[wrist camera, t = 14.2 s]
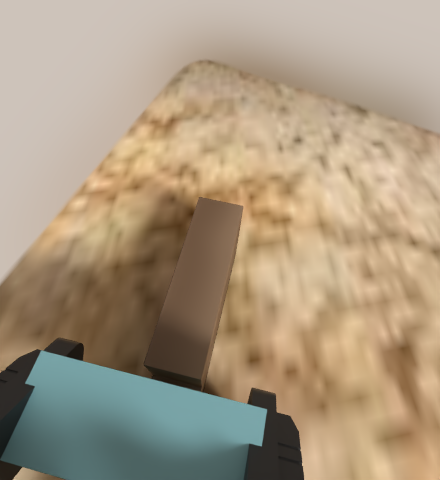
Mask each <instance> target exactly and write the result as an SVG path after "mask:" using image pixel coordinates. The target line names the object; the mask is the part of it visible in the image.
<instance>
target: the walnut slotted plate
mask: <svg viewBox="0 0 440 480" xmlns="http://www.w3.org/2000/svg"><path fill="white" fill-rule="evenodd" d="M242 212H243V206H240V205H235V204H231V203H226V202H221V201H216V200H211V199H207V198H202V197H199V200H198V203H197V206H196V209H195V212H194V215H193V218H192V221H191V224H190V227H189V230H188V233H187V236H186V239H185V242H184V245H183V248H182V251H181V254H180V257H179V260H178V263H177V266H176V269H175V272H174V275H173V278H172V281H171V284H170V287H169V290H168V293H167V296H166V299H165V302H164V305H163V308H162V311H161V314H160V317H159V320H158V323H157V326H156V329H155V332H154V335H153V338H152V341H151V344H150V347H149V350H148V353H147V356H146V359H145V362H144V366H145V367H146V368H147V369H148V370H149V371H150V372H151V373H152V374H153V376H152V379H153V380H157V381H160V382H164V383H168V384H172V385H176V386H180V387H183V388H187V389H191V390H195V391H199V392H203V389H204V385H205V381H206V377H207V373H208V368H209V364H210V360H211V356H212V351H213V347H214V343H215V339H216V335H217V330H218V326H219V322H220V318H221V314H222V309H223V305H224V301H225V297H226V293H227V288H228V284H229V280H230V276H231V272H232V267H233V263H234V259H235V255H236V249H237V243H238V237H239V230H240V224H241V218H242Z"/></svg>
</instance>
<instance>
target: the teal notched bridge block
mask: <svg viewBox="0 0 440 480" xmlns="http://www.w3.org/2000/svg"><path fill="white" fill-rule="evenodd" d="M25 384H29V385H33V386H35V388H34V390H33V392H32V394H31V396H30V398H29V400H28V402H27V404H26V406H25V409H24V411H23V413H22V415H21V417H20V419H19V421H18V423H17V425H16V428H15V430H14V432H13V434H12V436H11V438H10V440H9V442H8V444H7V446H6V449H5V451H4V453H3V455H2V457H1V459H0V460H1V461H4V462H8V463H11V464H15V465H18V466H21V467H25V468H28V469H32V470H35V471H39V472H42V473H45V474H49V475H52V476H56V477H59V478H62V479H66V480H244V474H245V468H246V462H247V456H248V449H249V443H250V444H254V445H258V446H261V447H262V442H263V435H264V428H265V421H266V414H267V409H264V408H260V407H256V406H252V405H249V404H245V403H241V402H237V401H233V400H229V399H226V398H222V397H218V396H214V395H210V394H206V393H203V392H199V391H195V390H191V389H187V388H183V387H180V386H176V385H172V384H168V383H164V382H160V381H157V380H153V379H149V378H145V377H141V376H137V375H134V374H130V373H126V372H122V371H118V370H114V369H111V368H107V367H103V366H99V365H95V364H91V363H88V362H84V361H80V360H76V359H72V358H68V357H65V356H61V355H57V354H53V353H49V352H45V351H42V350H41V352H40V354H39V356H38V358H37V360H36V363H35V365H34V367H33V369H32V371H31V373H30V375H29V377H28V379H27V381H26V383H25Z"/></svg>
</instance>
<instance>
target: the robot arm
mask: <svg viewBox="0 0 440 480" xmlns="http://www.w3.org/2000/svg"><path fill="white" fill-rule="evenodd" d="M43 351H45V352H49V353H53V354H57V355H61V356H65V357H68V358H72V359H76V360H80V361H83V352H84V346H83V344H82V343H79V342H75V341H71V340H67V339H63V338H58V339H56V340H55V341H54V342H53V343H51V344H50V345H49V346H48V347H47V348H46V349H45V350H43ZM40 352H41V350H38V349H37V350H35V351H33V352H30V353H28V354H26V355H23V356H21V357H19V358H18V359H17V360H16V361H14V362H13V363H12V364H11V365H9V366H8V367H7V368H6V370H5V371H2V372H1V373H0V459H1V457H2V455H3V453H4V451H5V449H6V446H7V444H8V442H9V440H10V438H11V436H12V434H13V432H14V430H15V428H16V425H17V423H18V421H19V419H20V417H21V415H22V413H23V411H24V409H25V406H26V404H27V402H28V400H29V398H30V396H31V394H32V392H33V390H34V388H35V386H33V385H29V384H25V383H26V381H27V379H28V377H29V375H30V373H31V371H32V369H33V367H34V365H35V363H36V360H37V358H38V356H39V354H40ZM248 404H249V405H252V406H256V407H260V408H264V409H267V414H266V421H265V428H264V435H263V442H262V447H261V446H258V445H254V444H250V443H249V449H248V456H247V462H246V468H245V474H244V480H304V473H303V466H302V456H301V451H300V449H301V447H300V439H299V431H298V430H297V428H296V426H295V424H294V422H293V420H292V418H291V417H290V416H288V415H284V414H281V413H277V411H276V394H275V393H272V392H268V391H264V390H260V389H256V388H252V389H251V392H250V396H249V400H248ZM21 468H22V467H21V466H18V465H15V464H11V463H8V462H4V461H1V460H0V480H12V479H13V478H14V477H15V476H16V474H17V473H18V472H19V471H20V469H21Z"/></svg>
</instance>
